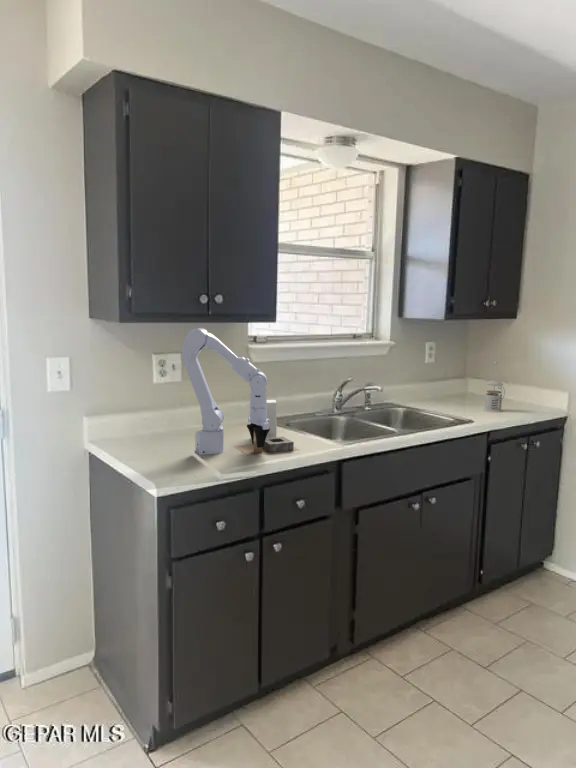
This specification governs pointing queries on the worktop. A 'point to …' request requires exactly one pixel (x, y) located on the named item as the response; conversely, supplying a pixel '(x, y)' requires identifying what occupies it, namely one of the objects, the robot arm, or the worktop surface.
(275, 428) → the skincare box
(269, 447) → the socket board
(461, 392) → the worktop surface
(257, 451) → the birch peg
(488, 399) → the french press
